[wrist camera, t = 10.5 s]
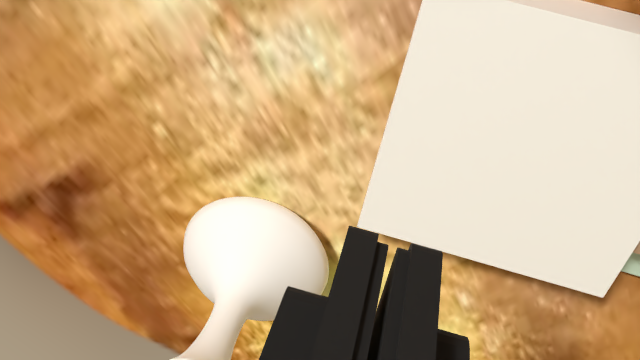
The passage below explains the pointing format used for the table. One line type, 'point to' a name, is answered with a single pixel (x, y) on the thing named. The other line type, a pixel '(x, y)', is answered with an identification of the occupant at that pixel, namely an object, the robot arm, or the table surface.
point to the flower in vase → (247, 266)
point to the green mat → (632, 265)
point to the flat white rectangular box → (516, 139)
